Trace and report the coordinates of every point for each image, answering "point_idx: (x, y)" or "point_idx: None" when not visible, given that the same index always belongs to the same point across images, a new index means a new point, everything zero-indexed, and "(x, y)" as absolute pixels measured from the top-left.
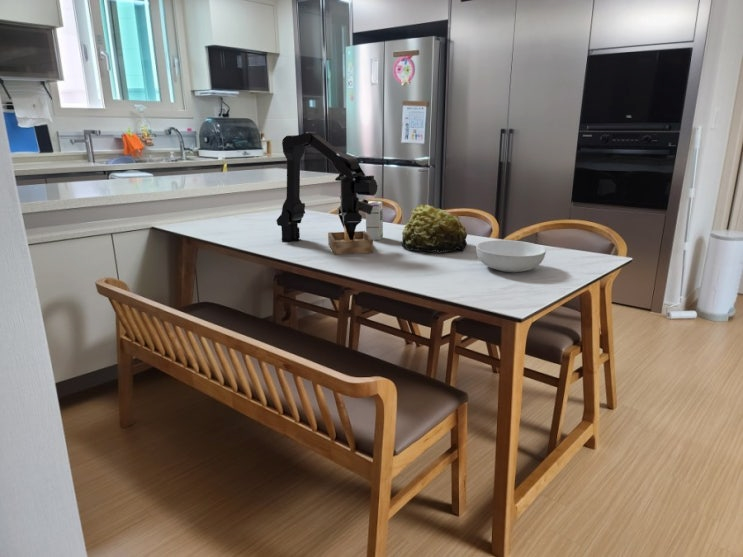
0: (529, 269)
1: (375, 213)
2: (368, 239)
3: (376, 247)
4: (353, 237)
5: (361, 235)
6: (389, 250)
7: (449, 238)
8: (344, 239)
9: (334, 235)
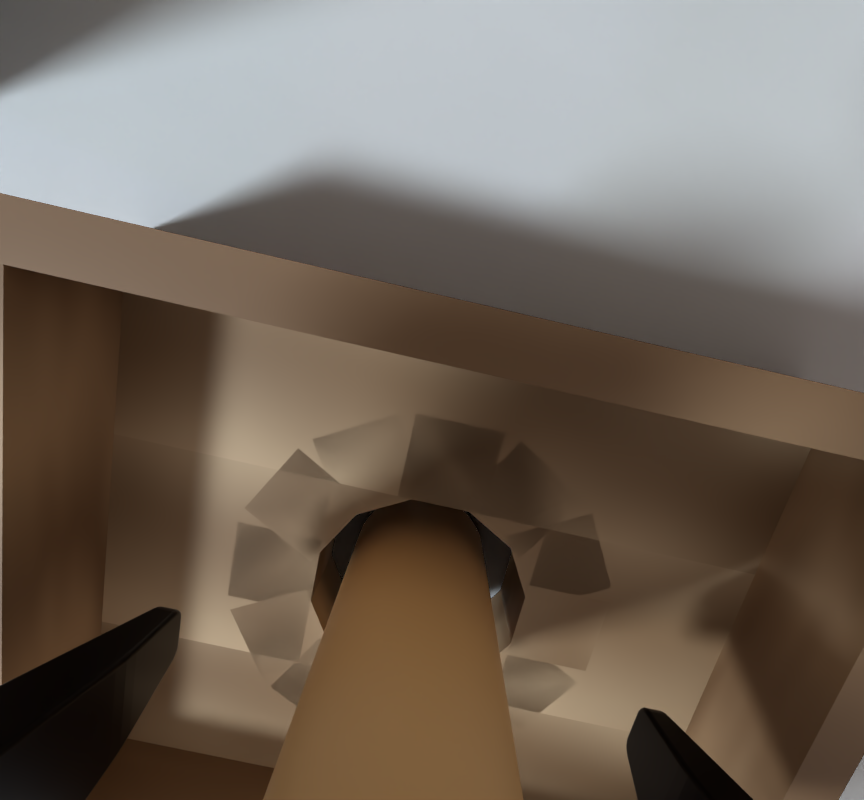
0: None
1: None
2: (804, 444)
3: (527, 193)
4: (490, 638)
5: (81, 294)
6: (814, 76)
7: None
8: (152, 583)
9: None
